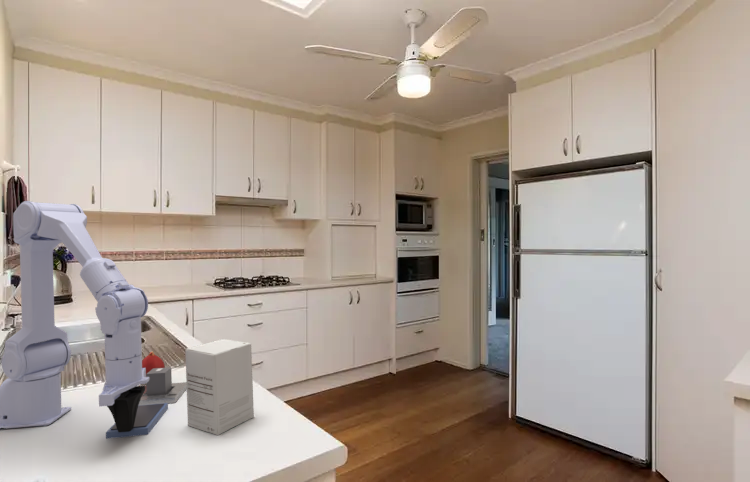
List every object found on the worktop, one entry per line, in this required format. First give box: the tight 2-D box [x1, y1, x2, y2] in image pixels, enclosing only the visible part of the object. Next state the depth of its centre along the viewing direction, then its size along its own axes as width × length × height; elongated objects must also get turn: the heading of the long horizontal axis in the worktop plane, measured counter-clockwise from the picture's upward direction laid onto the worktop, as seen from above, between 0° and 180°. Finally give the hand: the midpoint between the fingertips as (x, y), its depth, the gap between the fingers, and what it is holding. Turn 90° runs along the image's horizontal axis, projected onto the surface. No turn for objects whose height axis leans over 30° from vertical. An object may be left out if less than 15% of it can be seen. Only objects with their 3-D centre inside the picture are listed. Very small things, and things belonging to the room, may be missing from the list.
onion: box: [142, 351, 166, 374], centre depth 104 cm, size 6×6×8 cm
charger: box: [145, 367, 173, 396], centre depth 95 cm, size 4×4×6 cm
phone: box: [105, 403, 169, 440], centre depth 82 cm, size 7×12×2 cm, turn 11°
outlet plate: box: [138, 381, 187, 406], centre depth 95 cm, size 10×10×1 cm
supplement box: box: [184, 338, 255, 436], centre depth 81 cm, size 9×9×15 cm
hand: (125, 430), depth 76 cm, fingers closed
